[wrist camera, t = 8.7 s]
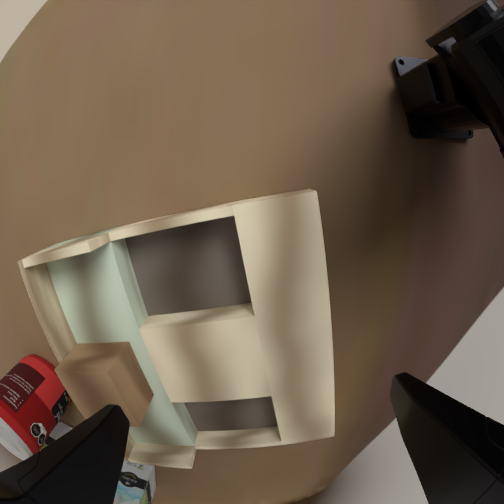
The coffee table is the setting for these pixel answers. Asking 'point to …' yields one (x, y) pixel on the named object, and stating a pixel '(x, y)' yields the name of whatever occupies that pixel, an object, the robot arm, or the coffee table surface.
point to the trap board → (204, 321)
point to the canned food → (30, 405)
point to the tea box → (122, 475)
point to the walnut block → (106, 379)
